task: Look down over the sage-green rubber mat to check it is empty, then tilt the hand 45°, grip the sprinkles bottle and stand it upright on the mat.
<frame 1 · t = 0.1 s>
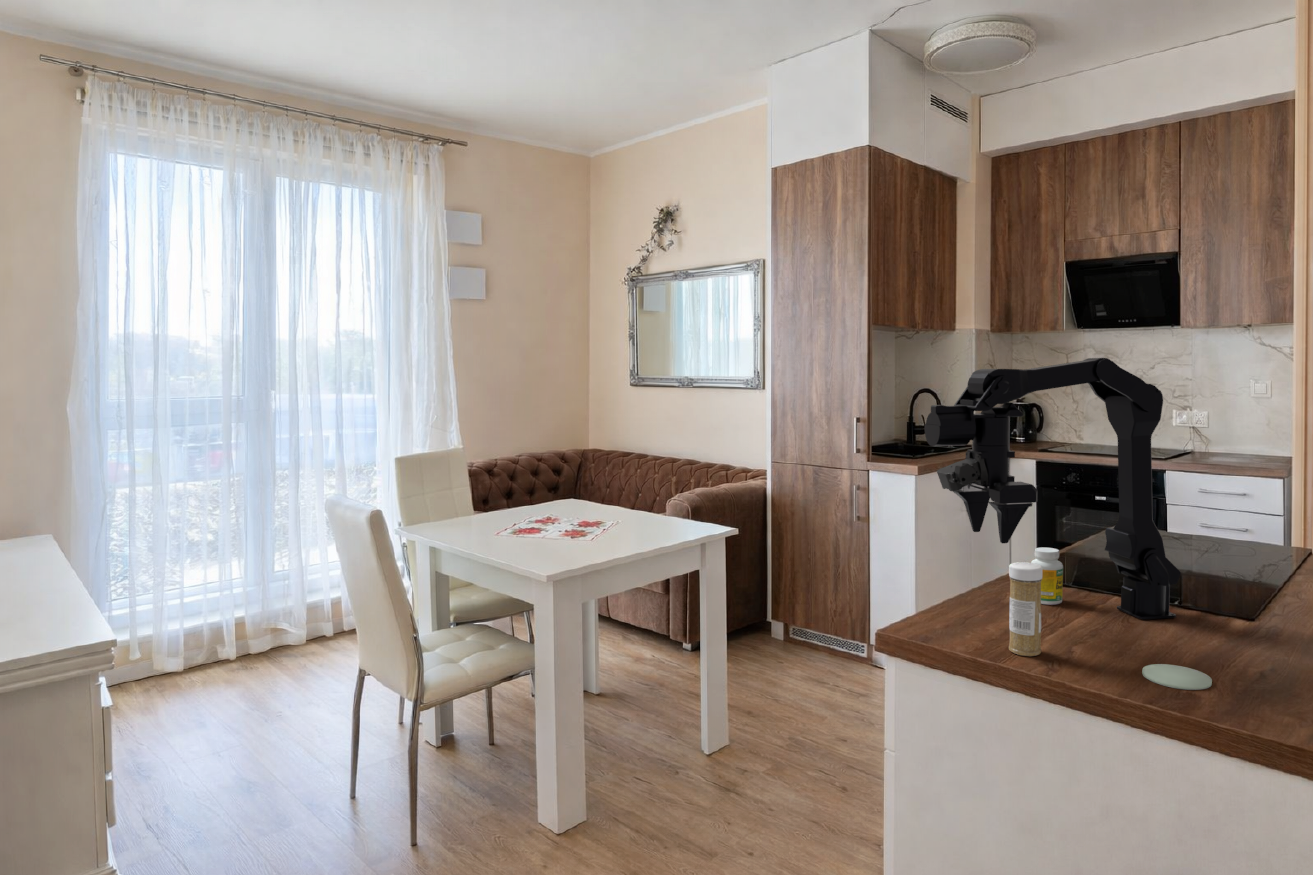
hand: (989, 537, 135), 15 cm above the counter, tool pointing down, fingers open, 9 cm apart
mat: (1176, 678, 110), on the counter
supplement bottle: (1046, 602, 147), on the counter
sprinkles bottle: (1024, 653, 122), on the counter
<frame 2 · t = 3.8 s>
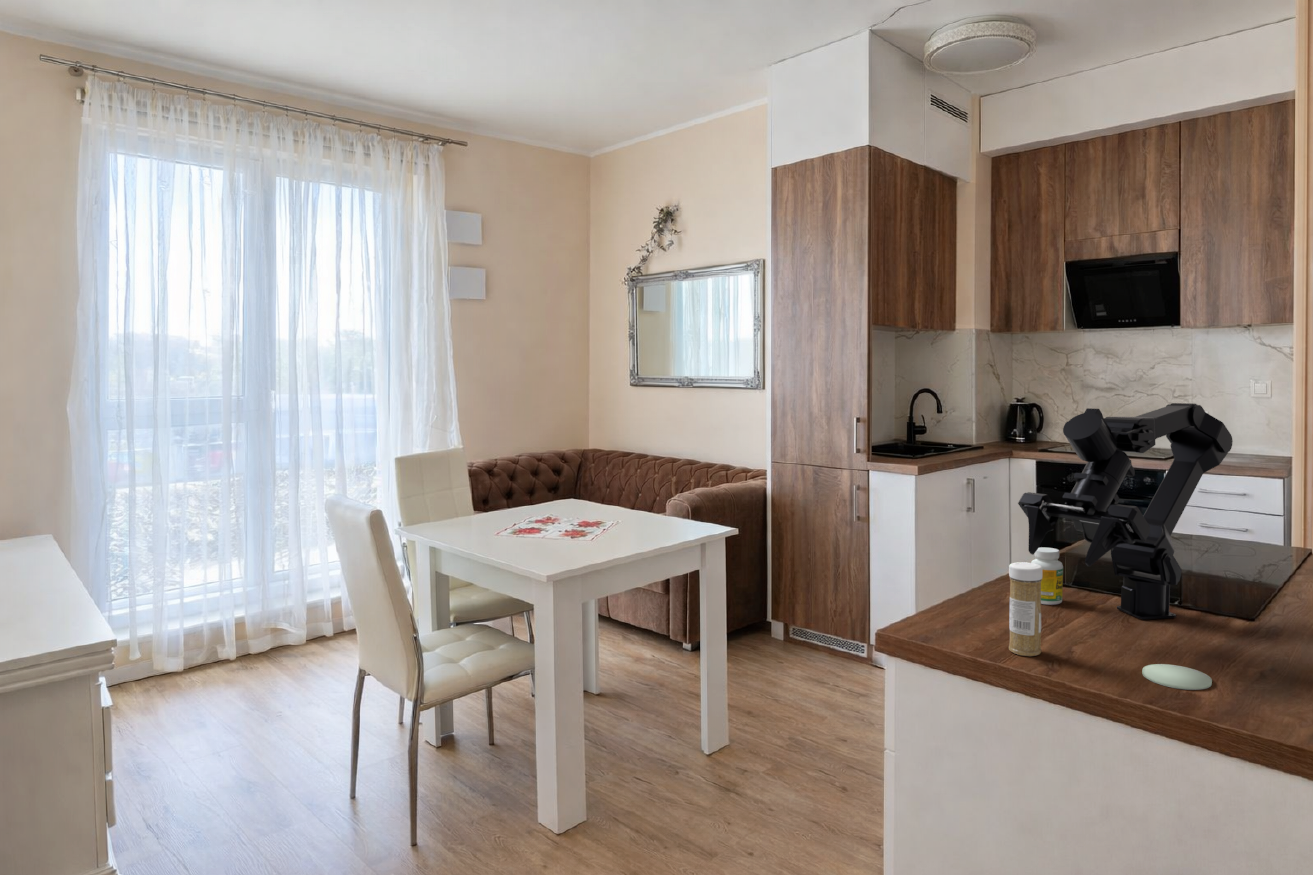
hand: (1058, 558, 124), 13 cm above the counter, tool tilted 45°, fingers open, 9 cm apart
nothing on the counter moved.
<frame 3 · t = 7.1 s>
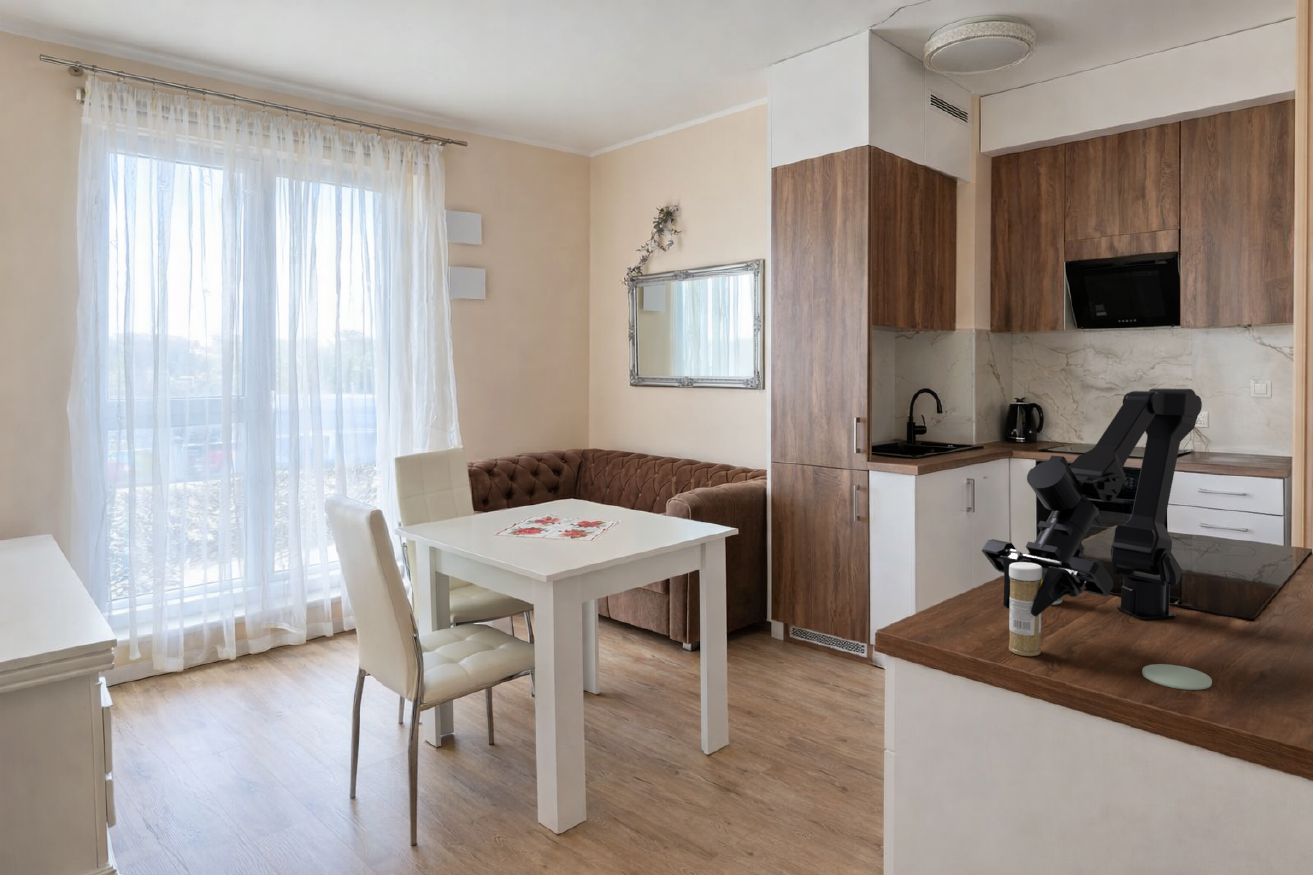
hand: (1019, 610, 121), 7 cm above the counter, tool tilted 45°, fingers closed on sprinkles bottle, 4 cm apart
sprinkles bottle: (1024, 653, 122), on the counter, touching gripper
everything else where it was.
when the fingers open (8 cm above the counter, at t = 11.1 s): sprinkles bottle drops 1 cm, resting on mat.
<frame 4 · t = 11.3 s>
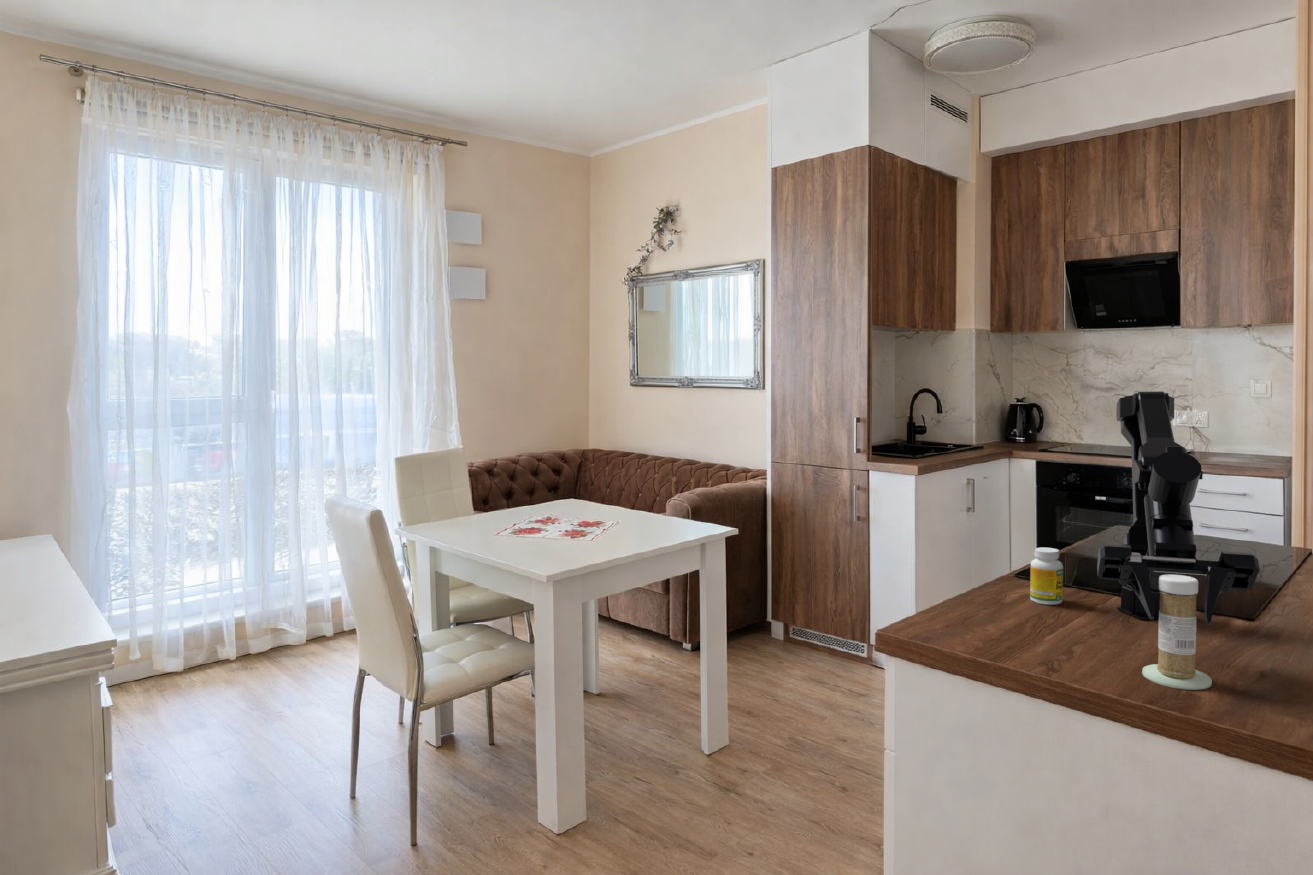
hand: (1179, 620, 108), 9 cm above the counter, tool tilted 45°, fingers open, 6 cm apart
sprinkles bottle: (1175, 674, 111), resting on mat
everything else where it was.
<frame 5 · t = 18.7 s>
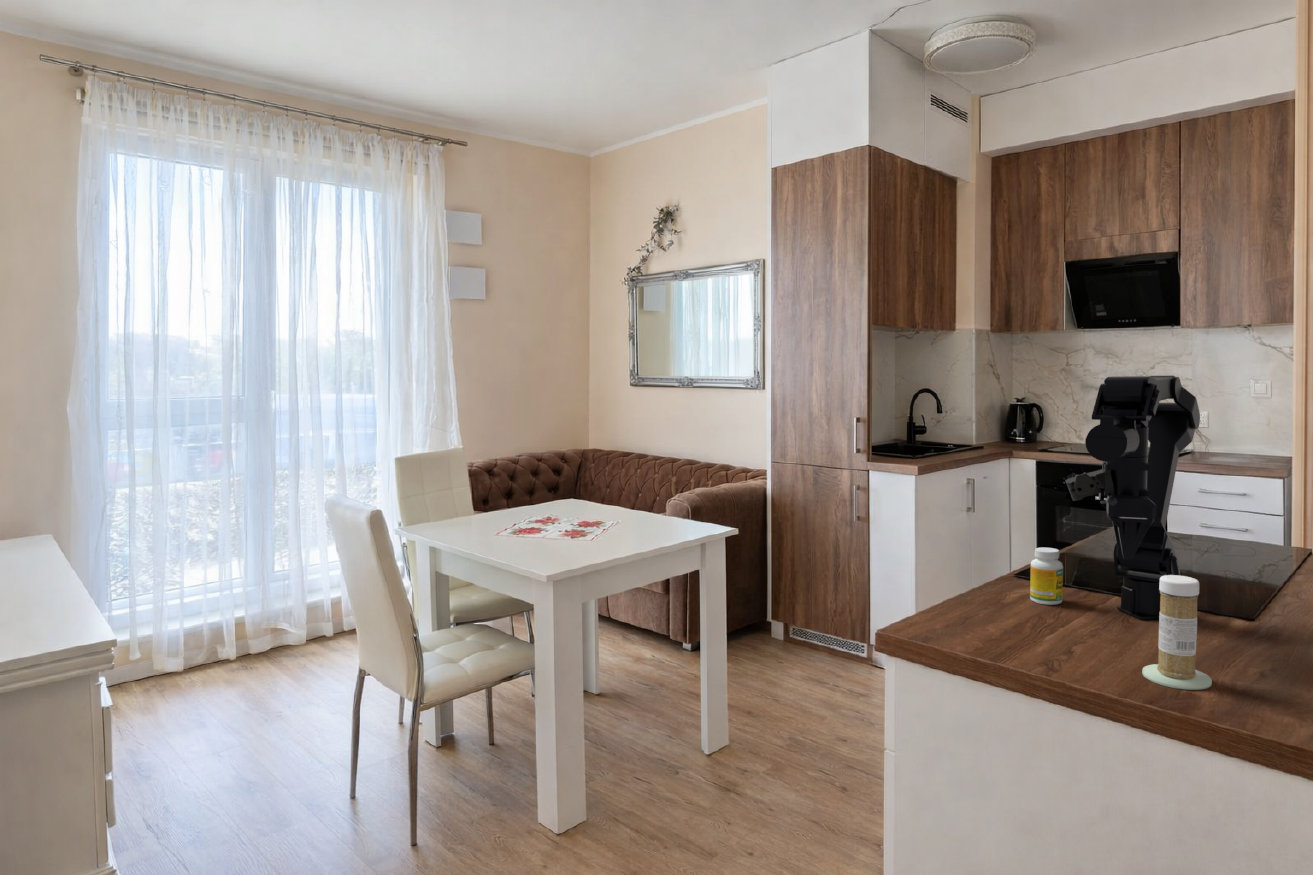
hand: (1124, 552, 129), 13 cm above the counter, tool pointing down, fingers open, 9 cm apart
nothing on the counter moved.
at the end: sprinkles bottle 0.3 cm from the mat (horizontally); sprinkles bottle tilted 0°; the gripper is holding nothing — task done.
